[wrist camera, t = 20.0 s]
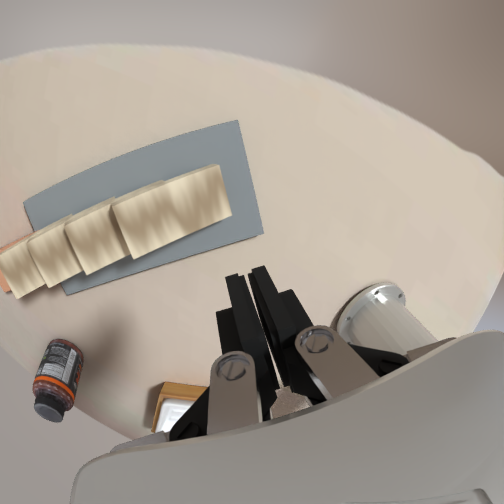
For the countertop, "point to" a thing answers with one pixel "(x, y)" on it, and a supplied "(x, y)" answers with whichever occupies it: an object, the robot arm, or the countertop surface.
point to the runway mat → (147, 172)
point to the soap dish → (174, 404)
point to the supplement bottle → (57, 380)
